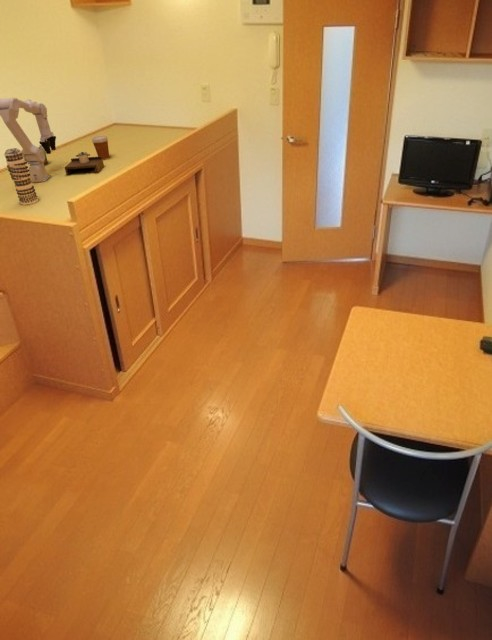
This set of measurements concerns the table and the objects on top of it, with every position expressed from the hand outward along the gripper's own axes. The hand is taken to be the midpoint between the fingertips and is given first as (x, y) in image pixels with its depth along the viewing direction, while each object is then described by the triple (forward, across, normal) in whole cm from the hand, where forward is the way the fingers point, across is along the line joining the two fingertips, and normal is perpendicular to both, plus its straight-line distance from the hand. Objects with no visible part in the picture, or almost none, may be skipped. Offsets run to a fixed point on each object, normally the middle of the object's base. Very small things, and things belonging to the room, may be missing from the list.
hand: (51, 151), depth 276 cm
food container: (+11, +14, +13) cm, 22 cm away
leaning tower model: (+11, -52, -5) cm, 53 cm away
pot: (+6, -4, -19) cm, 20 cm away
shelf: (+10, -6, -19) cm, 22 cm away
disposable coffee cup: (+11, +19, -23) cm, 32 cm away
